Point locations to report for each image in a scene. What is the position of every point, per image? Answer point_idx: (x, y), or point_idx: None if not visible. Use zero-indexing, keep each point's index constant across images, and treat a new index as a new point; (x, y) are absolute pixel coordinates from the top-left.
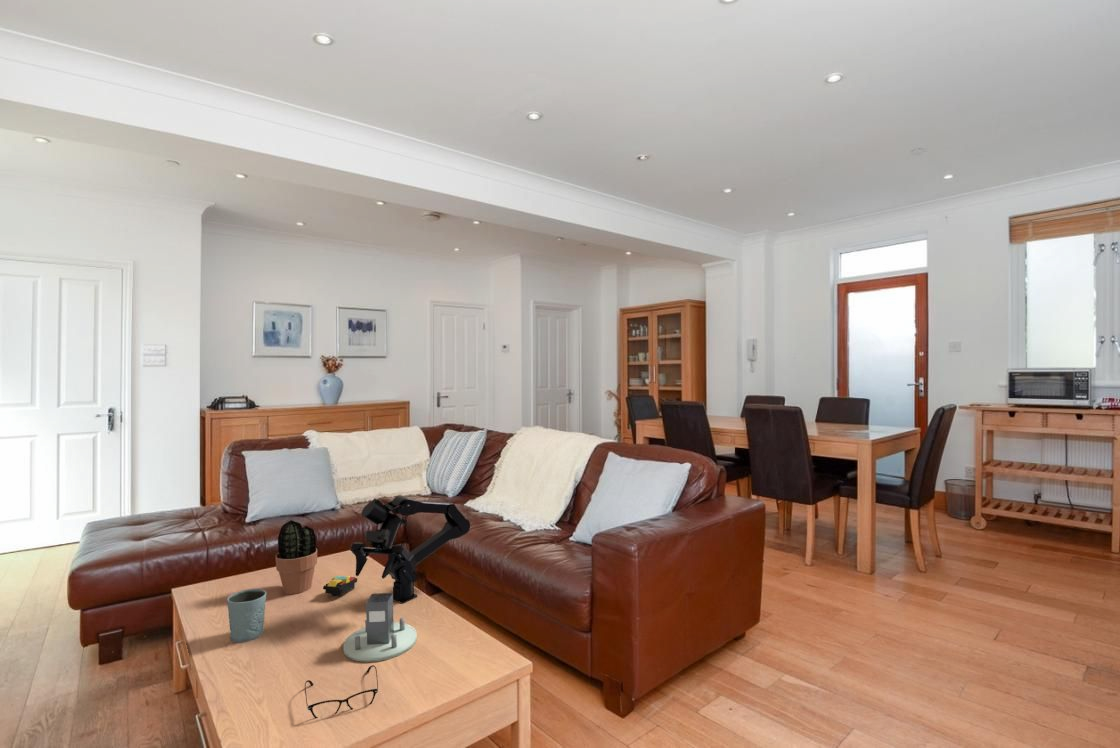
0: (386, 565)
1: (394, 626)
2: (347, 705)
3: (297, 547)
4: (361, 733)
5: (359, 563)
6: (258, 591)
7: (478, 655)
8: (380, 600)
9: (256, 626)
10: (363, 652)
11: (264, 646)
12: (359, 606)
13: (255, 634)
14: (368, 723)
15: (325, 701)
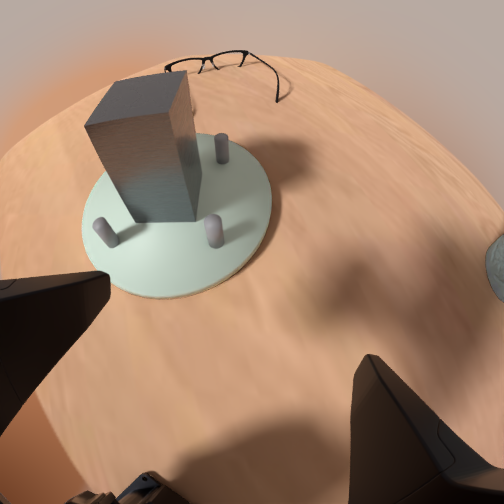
0: (21, 288)
1: (134, 263)
2: (203, 67)
3: None
4: (182, 58)
5: (408, 429)
6: None
7: (23, 169)
8: (136, 82)
9: (501, 246)
10: (204, 147)
11: (452, 223)
12: (319, 470)
13: (490, 253)
14: (176, 64)
15: (228, 51)
